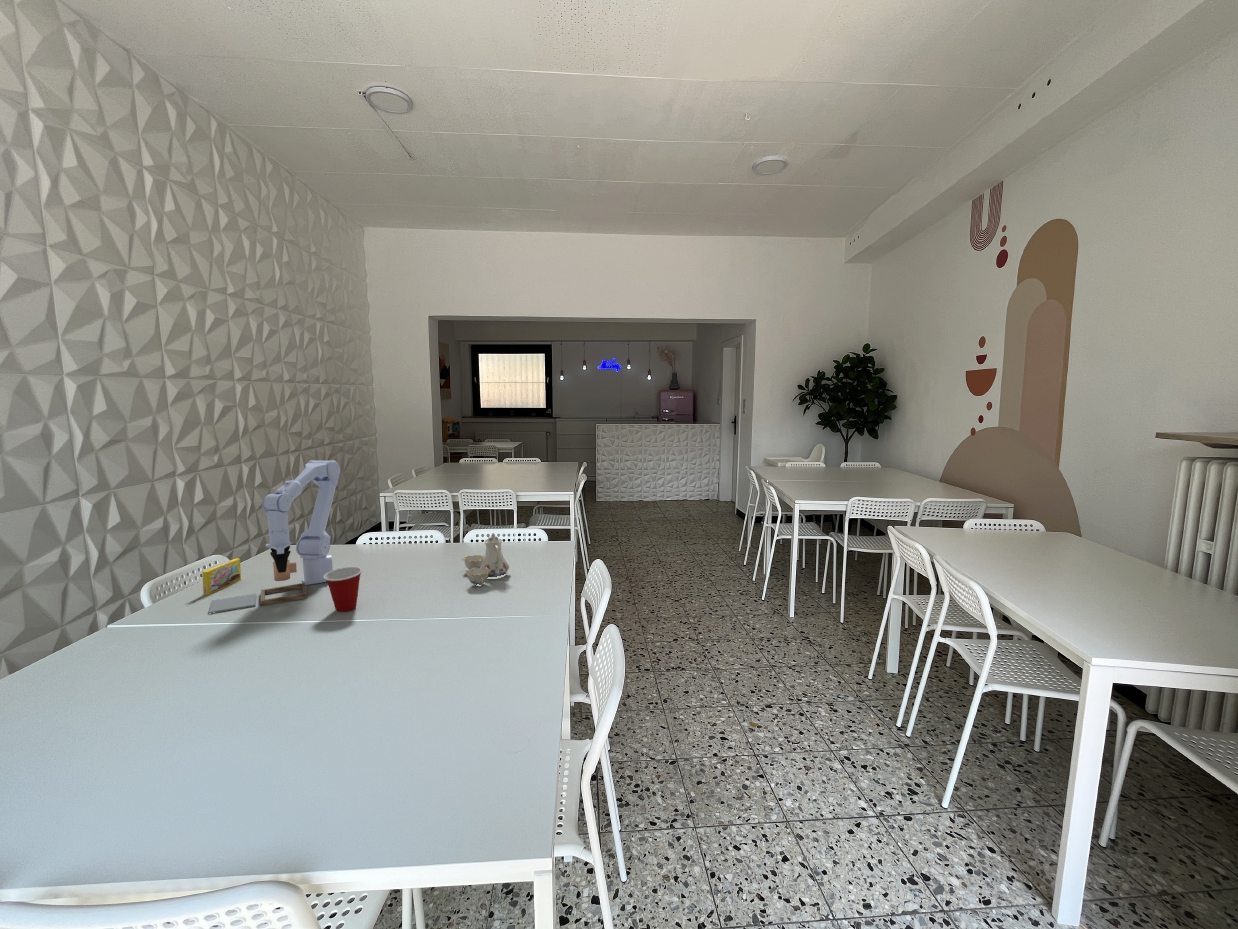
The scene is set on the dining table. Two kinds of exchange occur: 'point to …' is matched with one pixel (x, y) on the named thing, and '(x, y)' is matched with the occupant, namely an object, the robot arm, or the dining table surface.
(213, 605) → the grey mat
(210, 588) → the candy box
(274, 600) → the frame
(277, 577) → the peach rounded block
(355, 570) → the plastic cup
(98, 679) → the dining table surface
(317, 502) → the robot arm
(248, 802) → the dining table surface
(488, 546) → the chinaware
